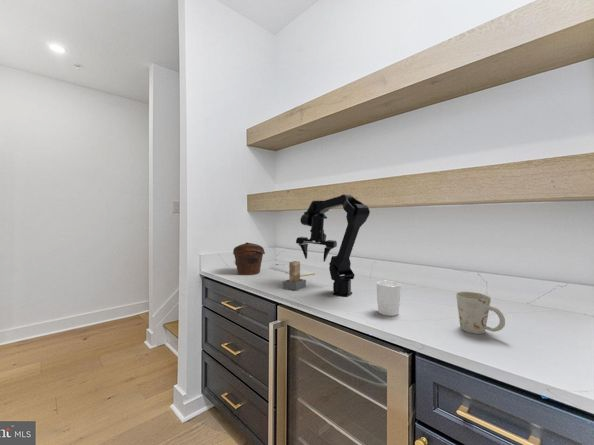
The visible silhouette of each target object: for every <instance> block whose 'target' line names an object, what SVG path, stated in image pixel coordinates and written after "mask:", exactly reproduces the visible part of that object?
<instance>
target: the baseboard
mask: <svg viewBox="0 0 594 445" xmlns="http://www.w3.org/2000/svg"><path fill="white" fill-rule="evenodd" d="M270 269H271V270H274V271H278V272H281V273H286V274H288V275H289V266H288V265H285V264H282V265H279V264H275V266H271V267H270ZM315 275H316V273H315V272H312V271H309V270H304V269H300V278H301V277H310V276H315Z"/></svg>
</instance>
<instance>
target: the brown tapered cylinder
mask: <svg viewBox="0 0 594 445" xmlns="http://www.w3.org/2000/svg"><path fill="white" fill-rule="evenodd" d="M232 253H233V255H234V261H233V264H235V266H236V271H237V273H238V274H239V275H241V276H251V275H258V274H259V273H260V272H261V267H262V261H263V257H264V256H263V255H265V249H264V247H263V246H261V245H259V244H257V243H251V242H245V243H243V244H239V245H236V247H235V246H234V248H233V252H232Z"/></svg>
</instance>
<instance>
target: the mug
mask: <svg viewBox="0 0 594 445" xmlns="http://www.w3.org/2000/svg"><path fill="white" fill-rule="evenodd" d="M455 295H456V304H457V311H458V318H459V320H458V321H459V327H460V329H461V330H462V331H464V332H467V333H469V334H475V335H476V334H477V335H483V334H485V332H486V331H491V332H499V331H501V330H503V329H504V327H505V326H506V318H505V316H504V314H503V312H502V311H501V309H499V308H498V307H495V306H492V305H491V301H492V300H491V296H490V295H487V294H485V293H484V294H483V293H480V292H475V291H458V292H456V294H455ZM490 311H492V312H494V313H495V314H496V315H497V316H498V318H499V322H498V324H497V326H495V327H490V326H487V323H488V317H489V312H490Z"/></svg>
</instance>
